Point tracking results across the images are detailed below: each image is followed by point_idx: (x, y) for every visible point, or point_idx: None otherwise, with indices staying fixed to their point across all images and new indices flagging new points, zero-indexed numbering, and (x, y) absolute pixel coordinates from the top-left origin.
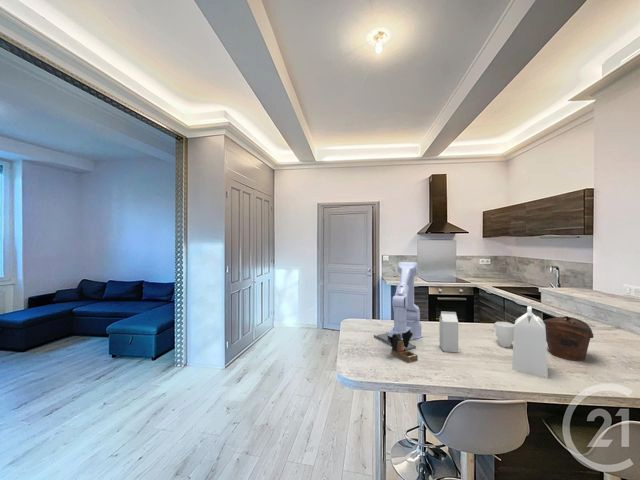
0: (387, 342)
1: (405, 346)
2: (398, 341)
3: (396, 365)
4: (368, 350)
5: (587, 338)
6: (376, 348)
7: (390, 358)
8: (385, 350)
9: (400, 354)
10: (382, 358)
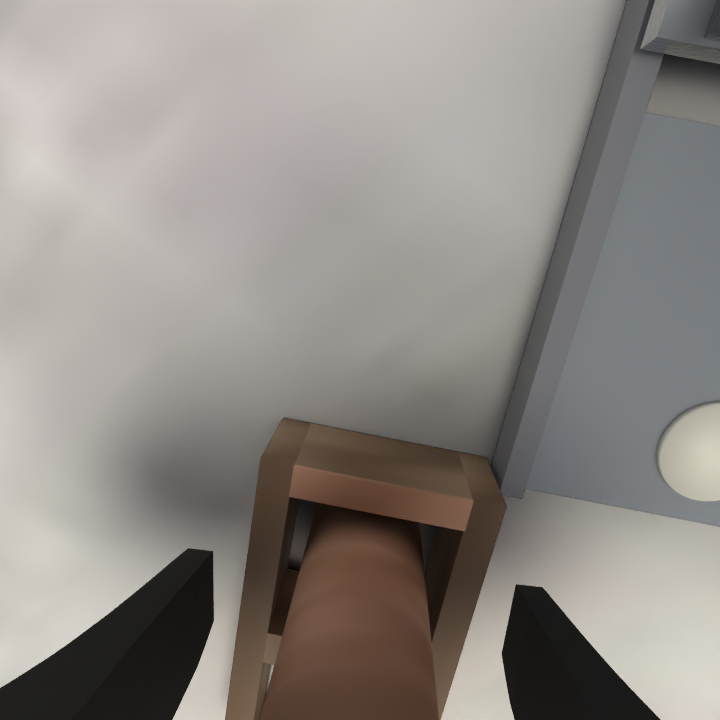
0: (632, 37)
1: (512, 637)
2: (372, 675)
3: None
4: (13, 40)
5: None
6: (227, 69)
7: (143, 507)
8: (306, 260)
9: (236, 652)
10: (36, 438)
